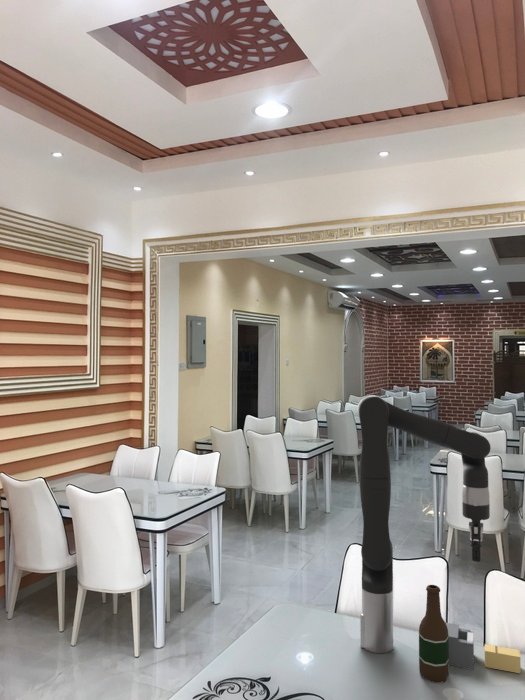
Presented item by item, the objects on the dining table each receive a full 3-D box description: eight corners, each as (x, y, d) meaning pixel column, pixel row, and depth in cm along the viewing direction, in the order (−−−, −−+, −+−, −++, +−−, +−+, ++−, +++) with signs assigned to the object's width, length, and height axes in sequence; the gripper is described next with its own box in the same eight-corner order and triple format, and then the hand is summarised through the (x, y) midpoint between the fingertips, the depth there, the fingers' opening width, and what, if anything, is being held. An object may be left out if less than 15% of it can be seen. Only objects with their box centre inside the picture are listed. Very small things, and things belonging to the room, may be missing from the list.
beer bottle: (450, 685, 145) (449, 593, 145) (420, 681, 146) (419, 591, 147) (447, 669, 152) (446, 582, 153) (418, 665, 154) (417, 579, 155)
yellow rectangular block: (485, 666, 153) (484, 650, 153) (484, 659, 157) (484, 643, 157) (520, 673, 150) (520, 656, 150) (519, 665, 153) (519, 649, 153)
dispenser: (428, 661, 156) (428, 632, 157) (430, 646, 164) (430, 620, 164) (473, 669, 152) (473, 640, 152) (473, 654, 160) (473, 627, 160)
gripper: (463, 494, 170) (463, 547, 170) (461, 505, 157) (462, 562, 157) (489, 496, 167) (489, 550, 167) (489, 508, 154) (490, 566, 154)
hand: (476, 556), depth 162 cm, fingers open, 8 cm apart
